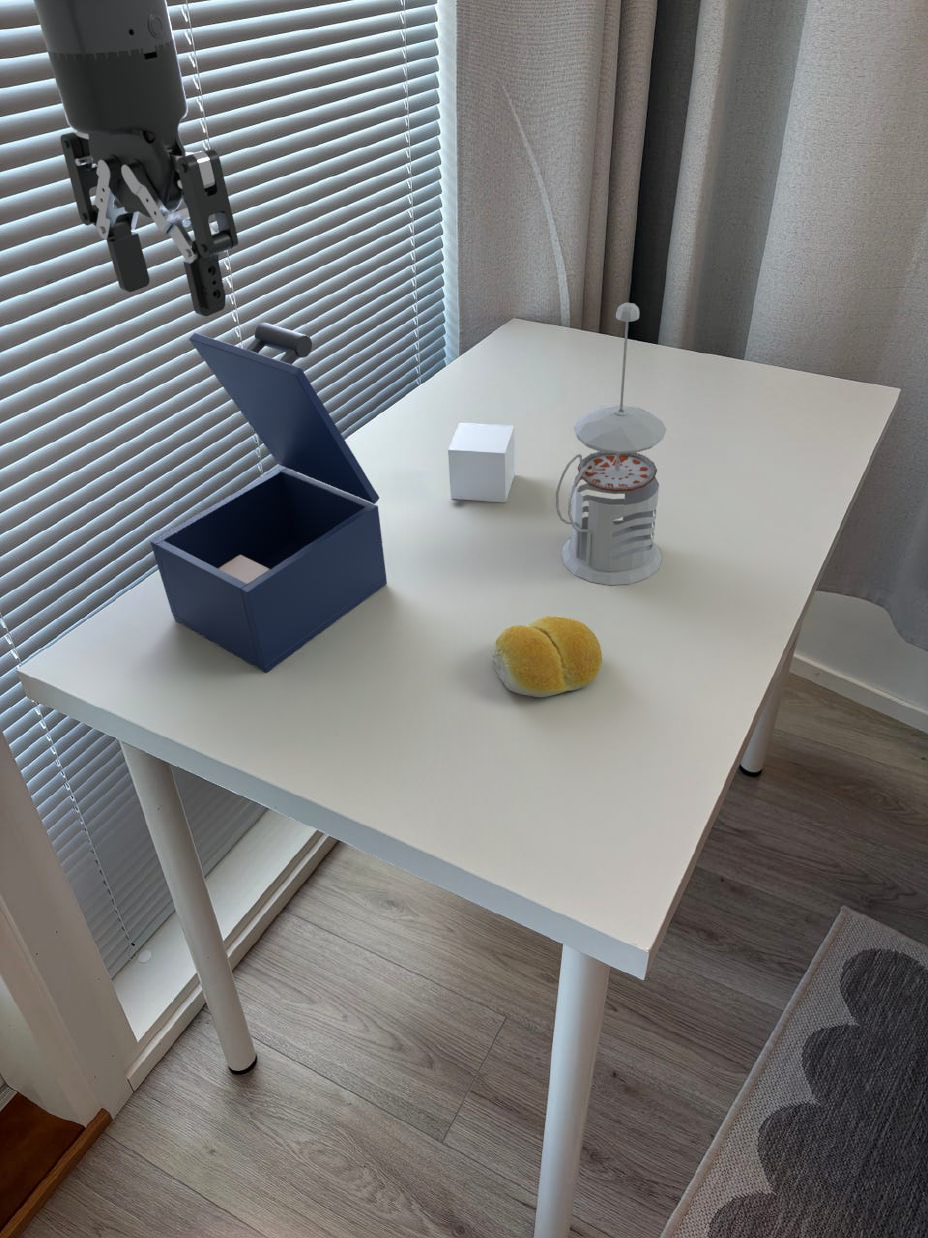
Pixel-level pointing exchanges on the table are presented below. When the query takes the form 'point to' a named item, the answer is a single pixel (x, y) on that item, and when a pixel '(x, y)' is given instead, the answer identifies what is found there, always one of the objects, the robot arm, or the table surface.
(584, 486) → the french press
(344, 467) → the lid
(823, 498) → the table surface
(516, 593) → the table surface
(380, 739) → the table surface
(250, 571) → the block
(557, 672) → the bread roll
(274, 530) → the box
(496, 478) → the white cube
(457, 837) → the table surface
